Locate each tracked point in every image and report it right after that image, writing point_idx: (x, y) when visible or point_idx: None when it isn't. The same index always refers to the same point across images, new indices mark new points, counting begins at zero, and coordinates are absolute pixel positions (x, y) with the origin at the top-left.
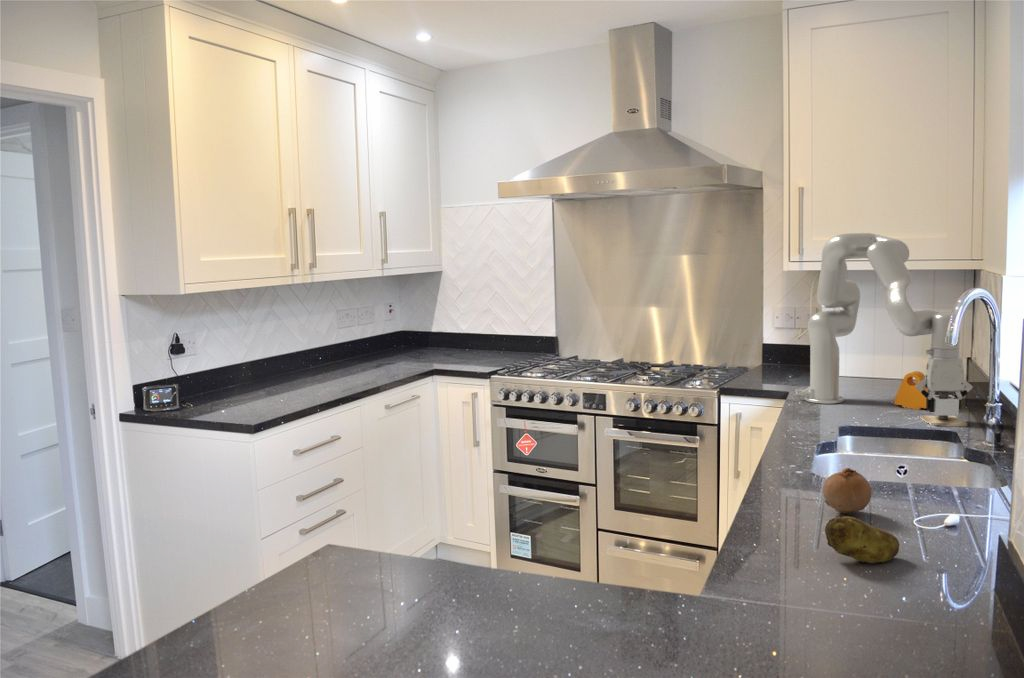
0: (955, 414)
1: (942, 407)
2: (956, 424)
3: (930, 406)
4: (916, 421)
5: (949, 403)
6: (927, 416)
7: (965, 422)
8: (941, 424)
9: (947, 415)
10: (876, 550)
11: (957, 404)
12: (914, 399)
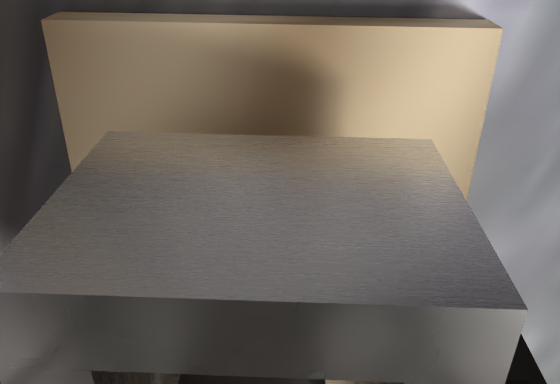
0: (145, 135)
1: (341, 193)
2: (177, 19)
3: None
4: (519, 246)
5: (209, 233)
6: None
7: (56, 52)
8: (364, 20)
9: None
10: None
11: (57, 220)
12: None
